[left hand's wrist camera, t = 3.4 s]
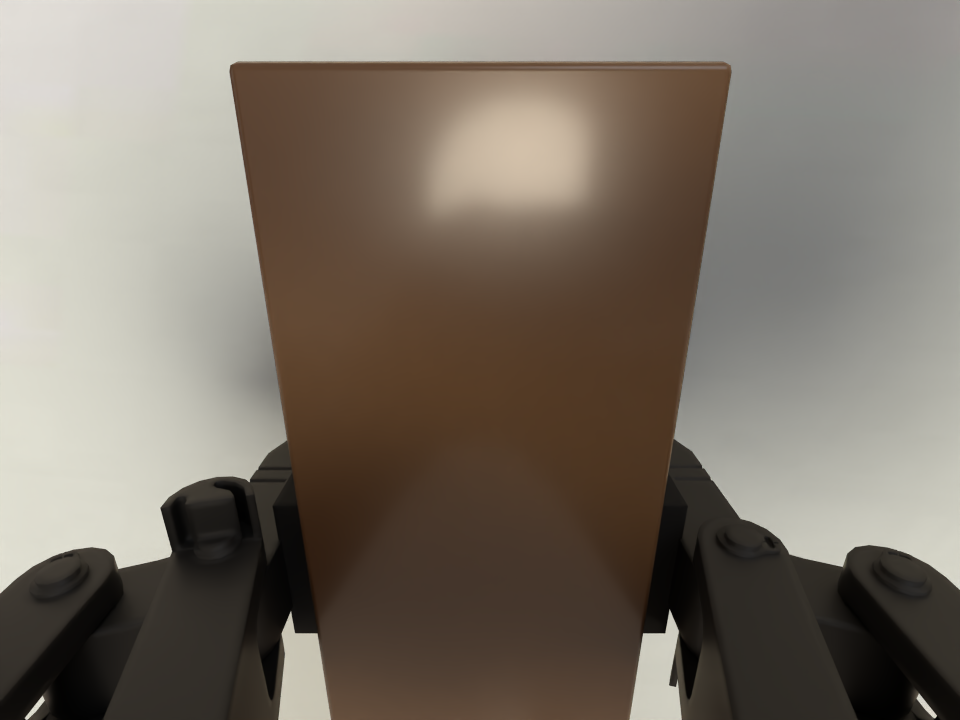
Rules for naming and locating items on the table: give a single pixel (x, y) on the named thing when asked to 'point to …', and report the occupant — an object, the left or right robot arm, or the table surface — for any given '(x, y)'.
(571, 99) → the post
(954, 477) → the table surface
